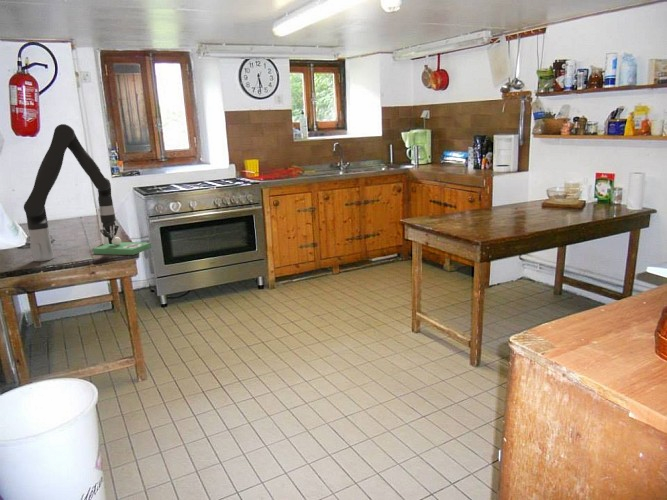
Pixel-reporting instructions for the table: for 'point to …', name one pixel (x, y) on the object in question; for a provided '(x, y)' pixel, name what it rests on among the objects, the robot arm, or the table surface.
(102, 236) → the milk
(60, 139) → the robot arm
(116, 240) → the ball
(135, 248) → the green
